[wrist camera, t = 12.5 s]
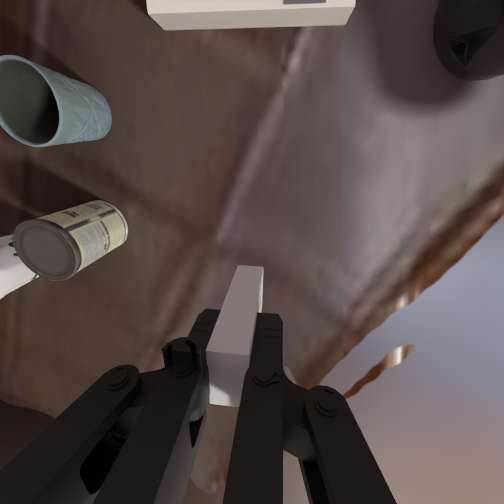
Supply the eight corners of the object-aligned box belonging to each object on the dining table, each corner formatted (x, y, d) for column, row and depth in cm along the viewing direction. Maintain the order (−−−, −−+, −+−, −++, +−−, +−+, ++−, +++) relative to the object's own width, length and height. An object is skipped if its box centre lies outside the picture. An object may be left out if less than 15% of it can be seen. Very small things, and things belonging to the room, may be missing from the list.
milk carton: (30, 221, 52) (-105, 262, 34) (71, 228, 52) (-44, 274, 34) (39, 258, 56) (-79, 312, 38) (77, 265, 55) (-24, 324, 37)
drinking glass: (77, 63, 40) (-2, 32, 29) (128, 112, 42) (73, 101, 31) (52, 115, 43) (-27, 105, 32) (100, 158, 45) (42, 163, 34)
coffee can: (93, 250, 53) (34, 284, 41) (72, 204, 50) (-2, 225, 37) (136, 244, 52) (87, 277, 39) (117, 196, 48) (56, 214, 35)
